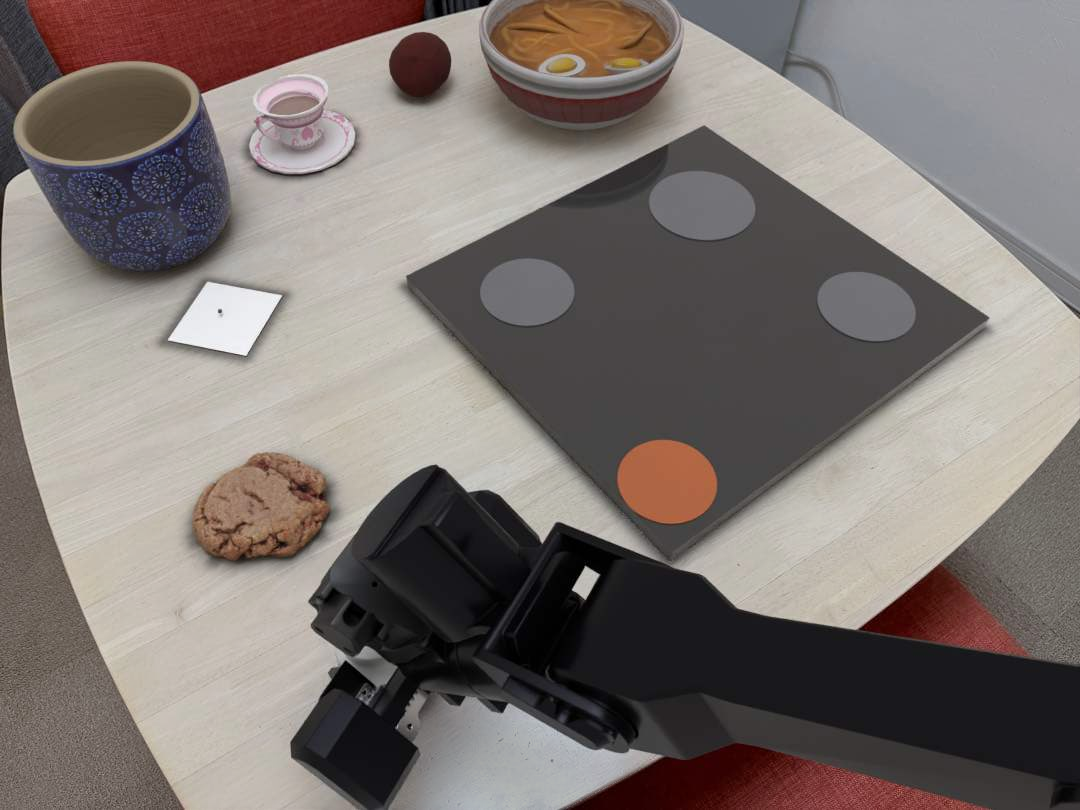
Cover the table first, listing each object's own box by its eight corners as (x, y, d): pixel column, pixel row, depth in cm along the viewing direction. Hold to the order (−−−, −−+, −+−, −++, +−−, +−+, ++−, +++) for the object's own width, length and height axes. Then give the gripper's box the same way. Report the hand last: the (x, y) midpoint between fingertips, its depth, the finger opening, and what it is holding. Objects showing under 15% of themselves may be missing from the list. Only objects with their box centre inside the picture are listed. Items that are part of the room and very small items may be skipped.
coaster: (246, 355, 82) (243, 350, 81) (167, 340, 83) (164, 334, 82) (282, 295, 86) (280, 289, 86) (207, 281, 88) (205, 275, 87)
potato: (459, 70, 111) (455, 16, 105) (447, 109, 106) (441, 55, 100) (401, 66, 111) (394, 13, 106) (386, 105, 106) (377, 51, 101)
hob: (983, 328, 84) (990, 316, 82) (670, 561, 69) (672, 551, 67) (702, 136, 102) (704, 123, 101) (407, 286, 87) (405, 274, 86)
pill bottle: (365, 638, 65) (340, 575, 57) (441, 648, 65) (427, 586, 57) (343, 715, 62) (314, 660, 54) (424, 726, 61) (407, 673, 53)
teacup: (314, 100, 107) (303, 52, 102) (377, 142, 102) (369, 94, 97) (229, 144, 102) (213, 96, 97) (291, 191, 96) (278, 142, 92)
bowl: (631, 182, 97) (639, 101, 89) (448, 129, 103) (440, 49, 95) (700, 76, 110) (712, -3, 102) (533, 34, 116) (533, -44, 108)
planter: (219, 295, 87) (168, 170, 75) (54, 288, 87) (-23, 163, 76) (262, 186, 97) (222, 61, 85) (113, 181, 98) (54, 56, 86)
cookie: (178, 506, 72) (165, 486, 70) (296, 442, 76) (287, 421, 73) (230, 596, 67) (219, 578, 65) (353, 523, 71) (346, 503, 69)
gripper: (492, 410, 48) (360, 448, 60) (275, 712, 38) (168, 685, 50) (614, 542, 52) (467, 552, 64) (445, 846, 42) (308, 792, 54)
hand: (362, 634), depth 58 cm, fingers open, 6 cm apart
